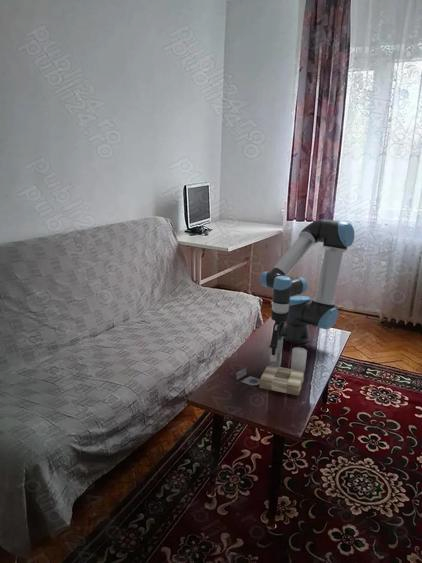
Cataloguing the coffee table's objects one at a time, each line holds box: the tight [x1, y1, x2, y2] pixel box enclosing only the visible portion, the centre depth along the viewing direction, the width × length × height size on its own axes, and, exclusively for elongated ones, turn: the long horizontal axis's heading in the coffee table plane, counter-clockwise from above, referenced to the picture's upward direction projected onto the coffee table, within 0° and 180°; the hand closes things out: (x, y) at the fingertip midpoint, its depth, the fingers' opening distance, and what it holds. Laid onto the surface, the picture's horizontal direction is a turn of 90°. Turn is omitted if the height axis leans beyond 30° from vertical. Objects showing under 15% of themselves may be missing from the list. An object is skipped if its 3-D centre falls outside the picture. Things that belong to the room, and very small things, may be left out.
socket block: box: [259, 364, 305, 396], centre depth 174 cm, size 14×16×4 cm
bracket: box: [236, 367, 260, 386], centre depth 176 cm, size 7×10×4 cm, turn 48°
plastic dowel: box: [290, 347, 308, 372], centre depth 188 cm, size 6×6×9 cm
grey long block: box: [270, 336, 284, 367], centre depth 190 cm, size 4×4×14 cm
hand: (276, 355), depth 190 cm, fingers open, 13 cm apart
